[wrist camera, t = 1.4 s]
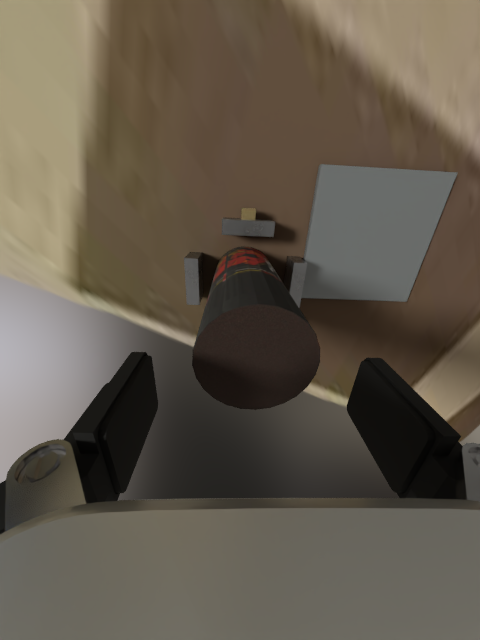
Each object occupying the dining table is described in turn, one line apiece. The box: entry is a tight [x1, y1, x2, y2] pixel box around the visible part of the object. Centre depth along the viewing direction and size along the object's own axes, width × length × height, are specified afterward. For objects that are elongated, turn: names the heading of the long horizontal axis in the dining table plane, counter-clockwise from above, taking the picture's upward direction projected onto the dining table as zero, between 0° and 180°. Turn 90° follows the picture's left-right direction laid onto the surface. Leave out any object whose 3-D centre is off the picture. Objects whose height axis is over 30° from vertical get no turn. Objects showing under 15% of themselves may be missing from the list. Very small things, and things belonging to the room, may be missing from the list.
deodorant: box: [192, 247, 320, 410], centre depth 17 cm, size 6×6×15 cm
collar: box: [184, 208, 307, 308], centre depth 23 cm, size 13×11×3 cm
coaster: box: [301, 164, 457, 302], centre depth 22 cm, size 12×12×1 cm
